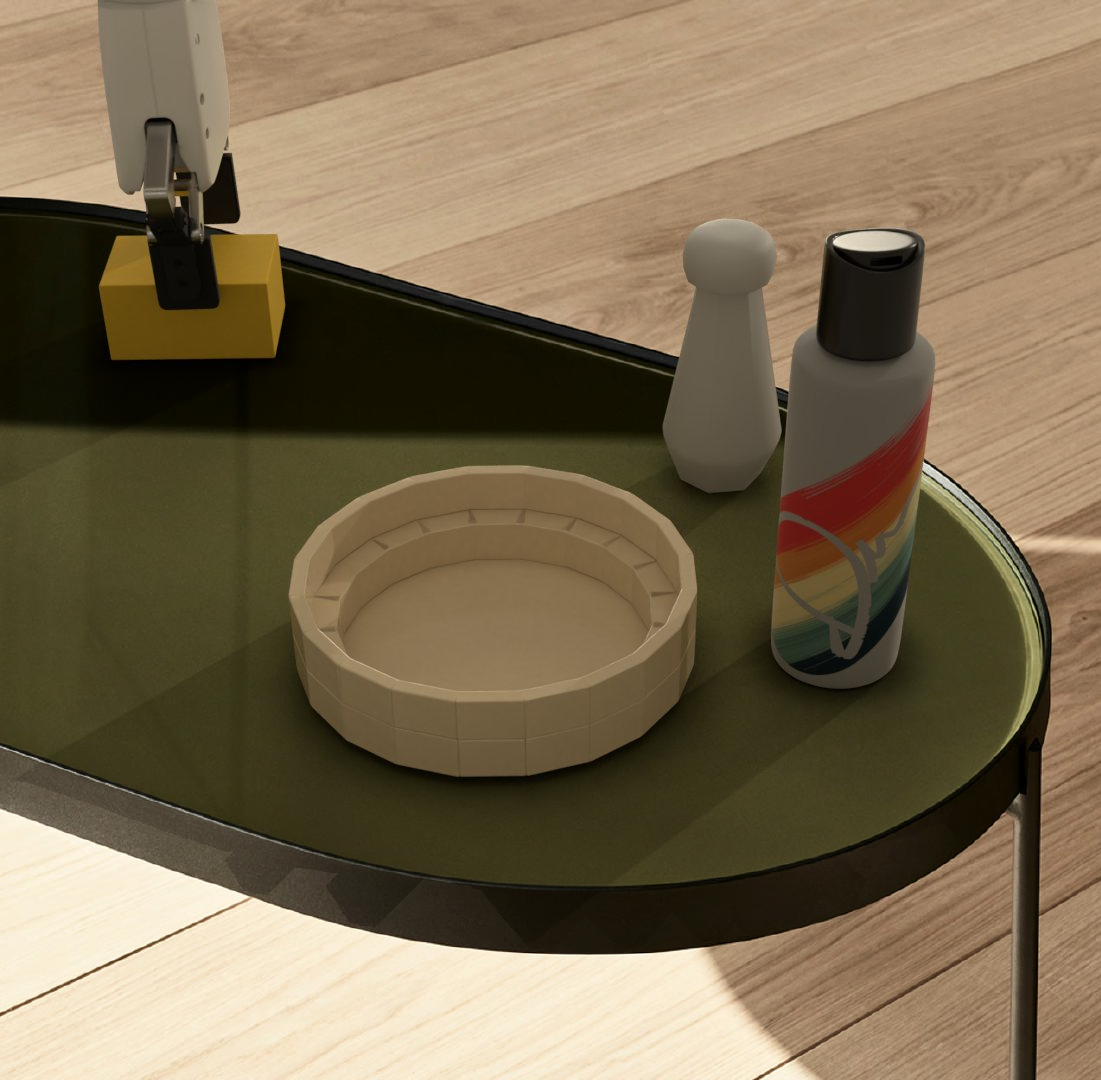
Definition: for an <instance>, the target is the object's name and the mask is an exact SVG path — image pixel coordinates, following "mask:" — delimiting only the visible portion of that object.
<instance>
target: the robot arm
mask: <svg viewBox="0 0 1101 1080" xmlns="http://www.w3.org/2000/svg"><path fill="white" fill-rule="evenodd" d="M218 9H219V8H218V4H217V0H97V20H98V21H97V23H98V37H99V50H100V57H101V67H102V77H103V85H104V92H105V98H106V106H107V113H108V120H109V129H110V134H111V142H112V148H113V149H112V150H113V155H114V161H115V162H114V164H115V170H116V177H117V182H118V183H117V184H118V186H119V188H120V190H121V191H122V192H123V193H124V194H126V195H127V196H133V195H135V193H136V192H141V190H142V192H143V200H144V204H145V226H146V236H147V239H148V241H147V242H148V247H149V253H150V258H151V264H152V270H153V275H154V281H155V286H156V292H157V298H158V303H159V306H160V307H161V308H162V309H164V310H192V309H214V308H217V307H218V305H219V302H220V293H219V286H218V280H217V274H216V267H215V261H214V254H213V248H212V242H211V235H212V234H205V226H206V225H209V226H210V225H230V224H231V225H233V224H238V222H239V221H240V218H241V205H240V200H239V192H238V186H237V178H236V171H235V165H234V164H235V163H234V157H233V153H232V152H228V151H229V146H230V145H229V143H230V142H229V131H230V126H231V99H230V98H231V97H230V87H229V79H228V70H227V62H226V55H225V47H224V41H223V34H222V28H221V22H220V16H219V10H218ZM226 151H227V152H226ZM175 178H176V179H175ZM176 197H179V201H180V202H179V203H180V206H177V199H176Z"/></svg>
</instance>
